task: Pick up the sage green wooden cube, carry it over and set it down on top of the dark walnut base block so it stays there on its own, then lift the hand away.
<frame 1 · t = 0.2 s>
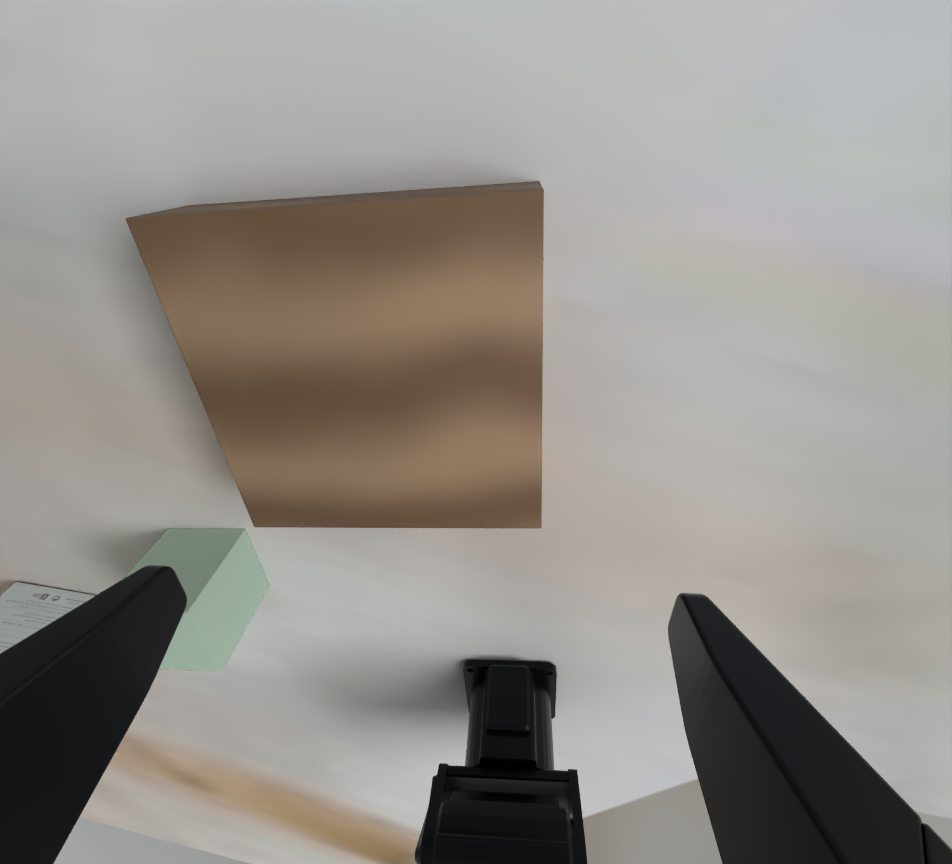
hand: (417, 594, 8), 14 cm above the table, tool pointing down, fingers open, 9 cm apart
green cube: (221, 557, 30), on the table
small box: (79, 620, 35), on the table
walnut base: (389, 358, 22), on the table
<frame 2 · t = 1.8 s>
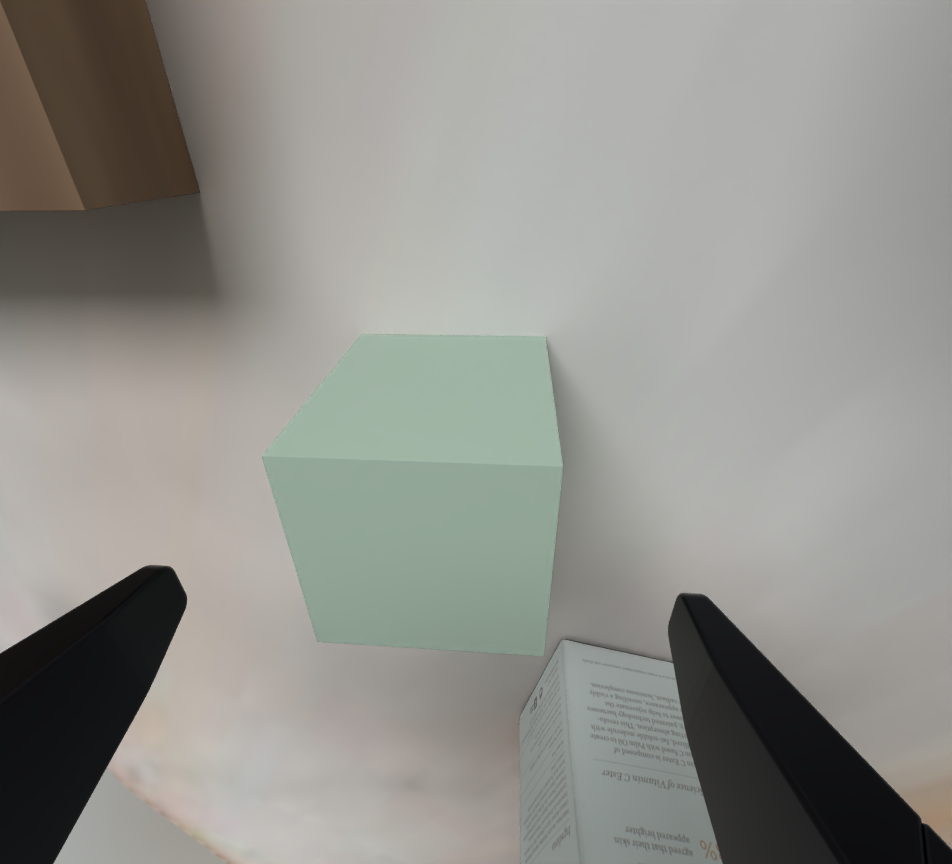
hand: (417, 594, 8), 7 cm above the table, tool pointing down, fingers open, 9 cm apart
green cube: (456, 414, 14), on the table
small box: (624, 691, 21), on the table
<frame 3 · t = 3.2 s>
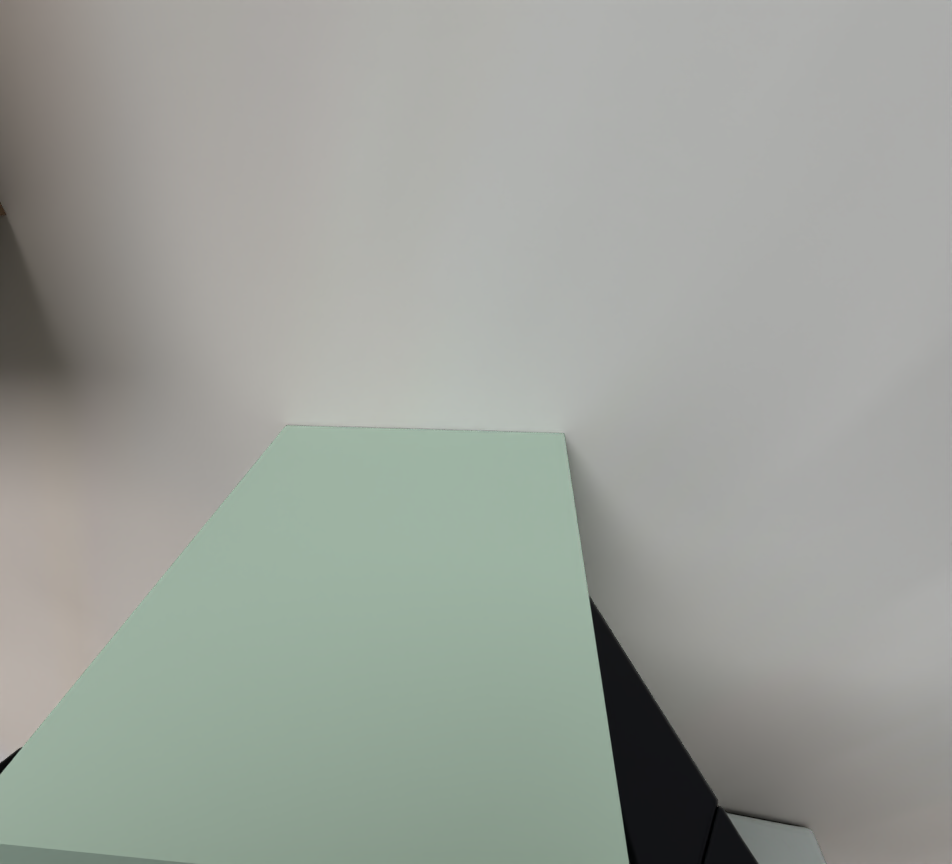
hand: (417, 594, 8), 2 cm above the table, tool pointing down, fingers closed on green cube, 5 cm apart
green cube: (431, 533, 10), on the table, touching gripper
small box: (653, 830, 17), on the table
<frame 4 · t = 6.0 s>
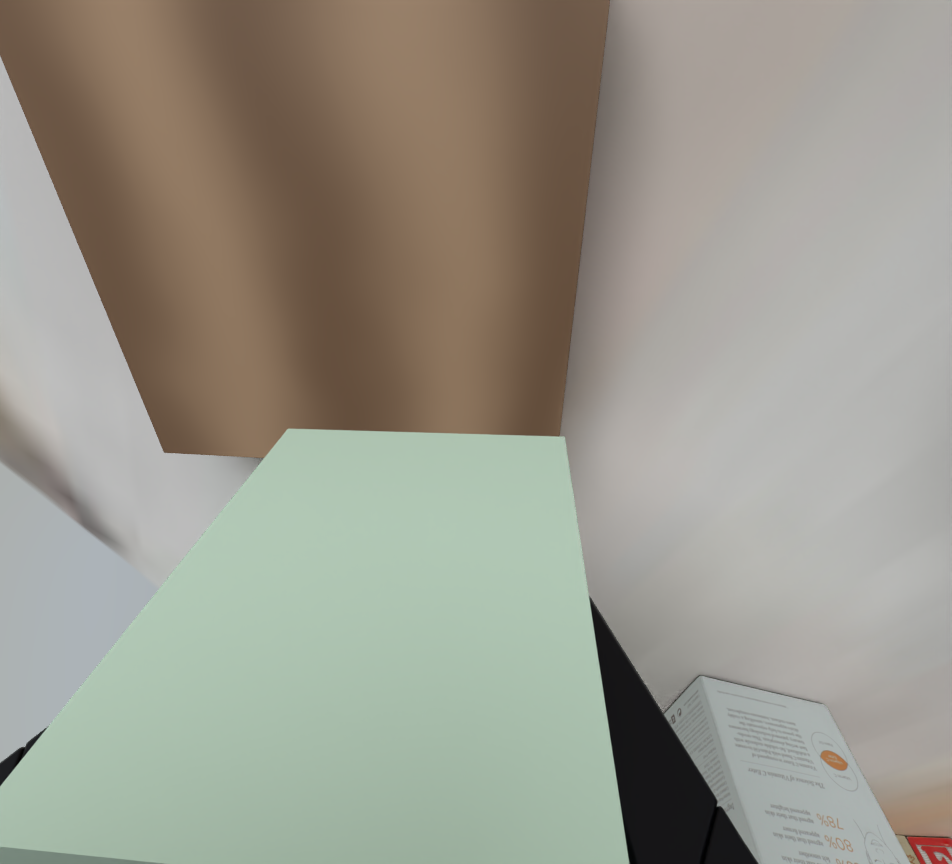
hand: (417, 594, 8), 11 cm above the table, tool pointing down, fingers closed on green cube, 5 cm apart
green cube: (432, 535, 10), point 10 cm above the table, touching gripper
small box: (733, 711, 29), on the table
walnut base: (362, 229, 16), on the table
stack of blocks: (785, 841, 38), on the table
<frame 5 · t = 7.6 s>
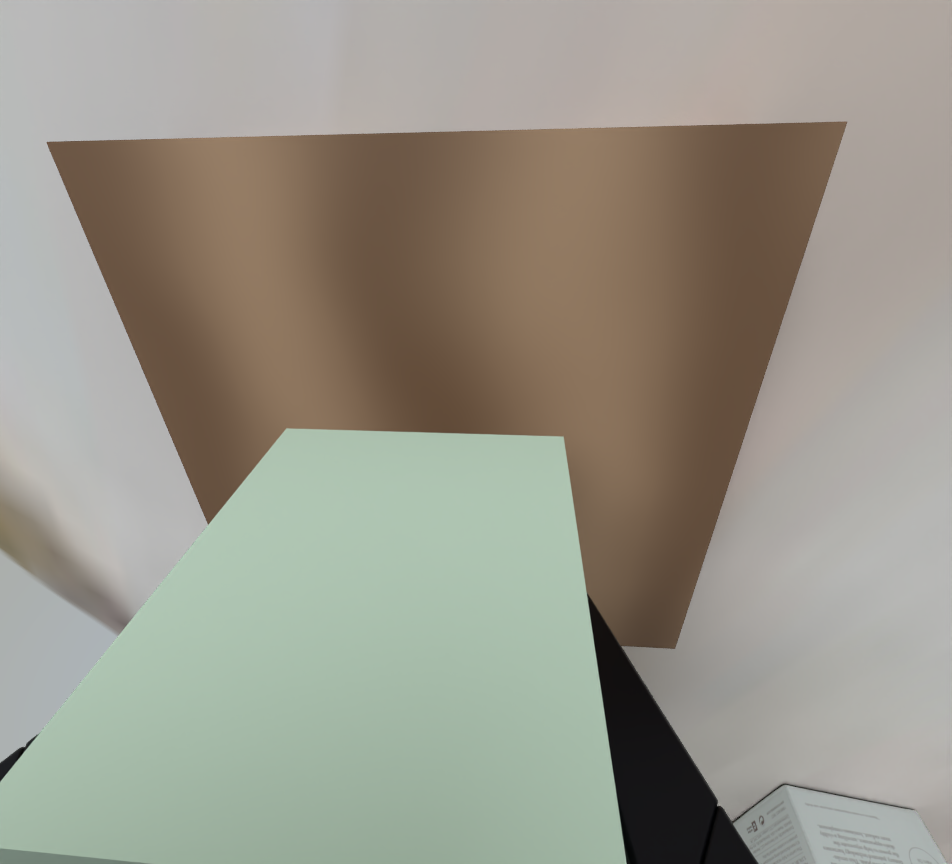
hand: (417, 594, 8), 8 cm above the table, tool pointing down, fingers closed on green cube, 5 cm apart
green cube: (430, 535, 10), point 6 cm above the table, touching gripper
small box: (814, 813, 28), on the table
walnut base: (460, 390, 15), on the table
when the fingers open (7 cm above the table, at t = 8.8 s): green cube drops 2 cm, point 3 cm above the table.
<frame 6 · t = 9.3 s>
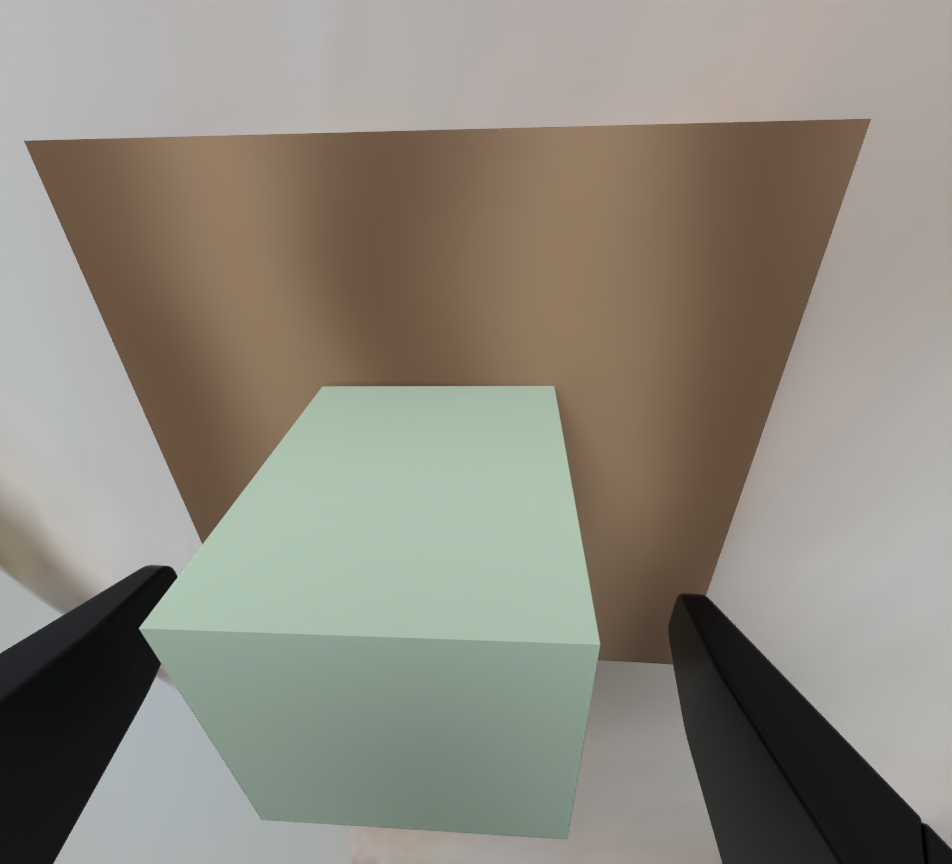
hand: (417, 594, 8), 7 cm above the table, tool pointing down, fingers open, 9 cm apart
green cube: (444, 479, 11), point 3 cm above the table
walnut base: (460, 397, 15), on the table
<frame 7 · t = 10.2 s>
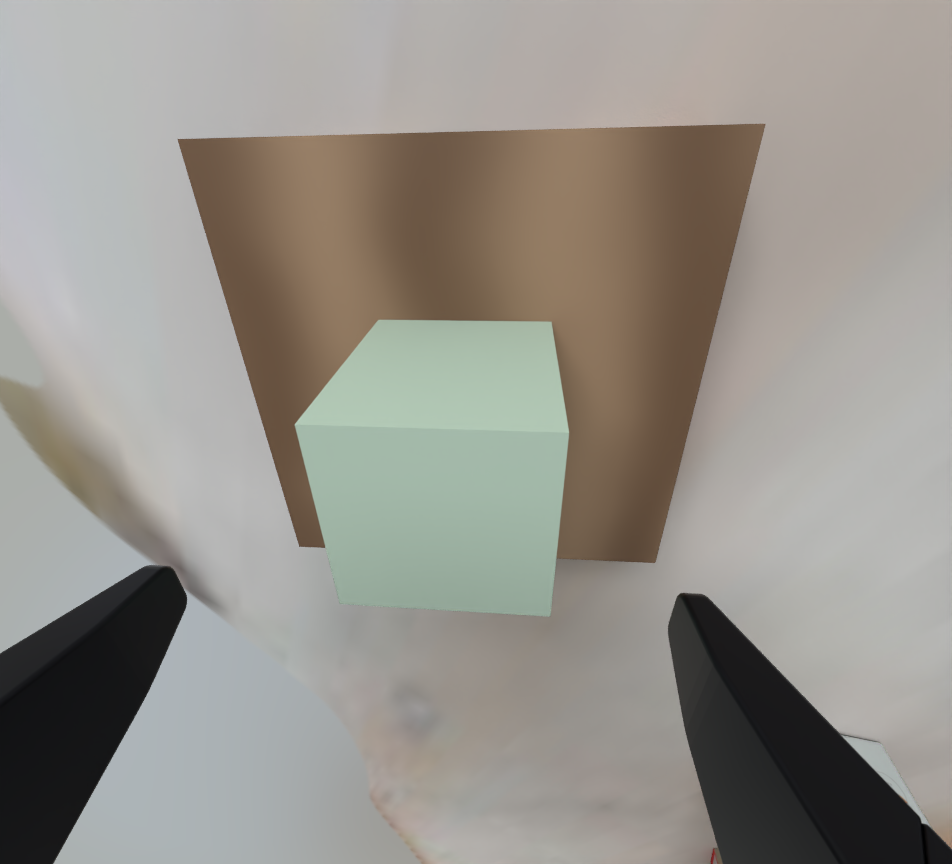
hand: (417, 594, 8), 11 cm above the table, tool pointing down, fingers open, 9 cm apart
green cube: (466, 397, 15), point 3 cm above the table
small box: (790, 748, 31), on the table
walnut base: (476, 347, 18), on the table
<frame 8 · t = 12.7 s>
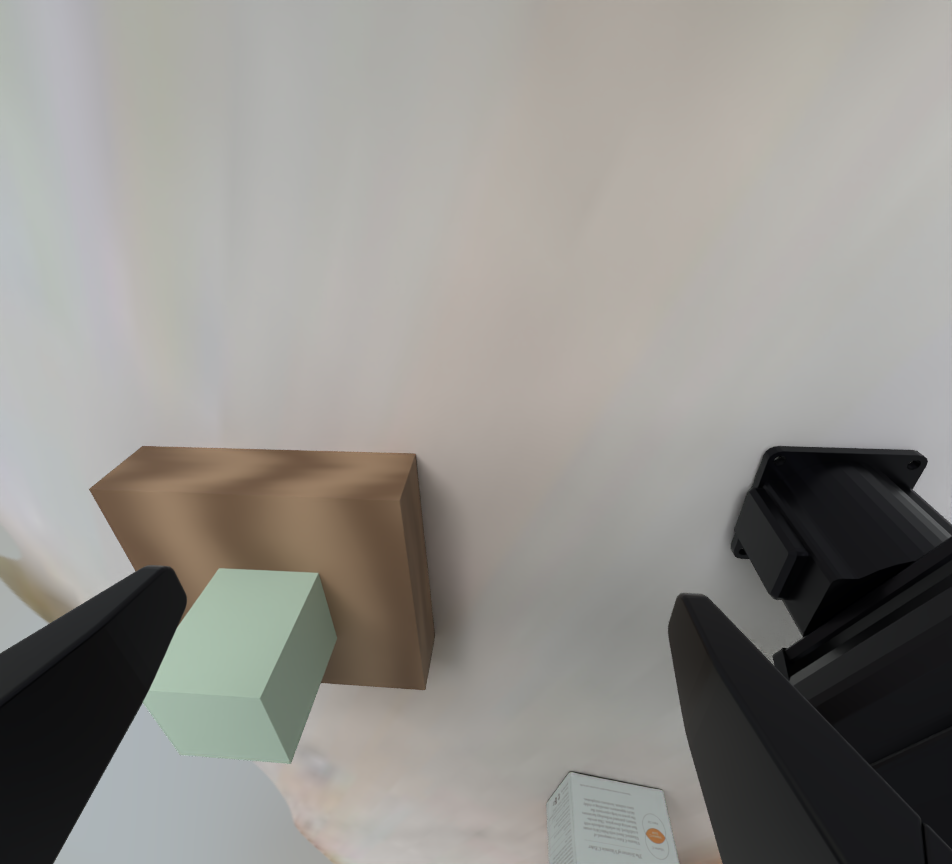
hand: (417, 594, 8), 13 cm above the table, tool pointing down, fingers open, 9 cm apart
green cube: (280, 604, 24), point 3 cm above the table, touching walnut base
small box: (602, 792, 40), on the table
walnut base: (308, 545, 27), on the table, touching green cube
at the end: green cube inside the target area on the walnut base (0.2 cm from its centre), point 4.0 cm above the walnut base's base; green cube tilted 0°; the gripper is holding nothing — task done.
